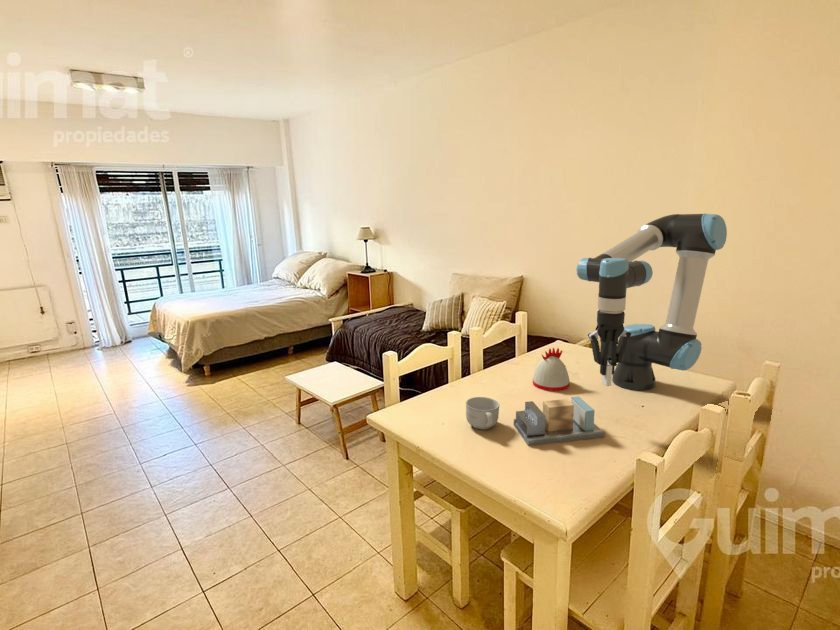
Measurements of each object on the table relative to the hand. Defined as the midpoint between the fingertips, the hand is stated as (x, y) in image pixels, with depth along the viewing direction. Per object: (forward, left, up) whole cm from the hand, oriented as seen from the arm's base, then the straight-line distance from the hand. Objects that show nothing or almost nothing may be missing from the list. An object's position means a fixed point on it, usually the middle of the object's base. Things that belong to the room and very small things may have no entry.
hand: (606, 384), depth 135 cm
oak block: (+15, 0, -13) cm, 20 cm away
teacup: (+37, -7, -15) cm, 41 cm away
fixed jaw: (+24, 0, -13) cm, 28 cm away
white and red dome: (+2, -35, -15) cm, 38 cm away
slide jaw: (+8, 0, -13) cm, 15 cm away
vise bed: (+15, 0, -14) cm, 21 cm away
